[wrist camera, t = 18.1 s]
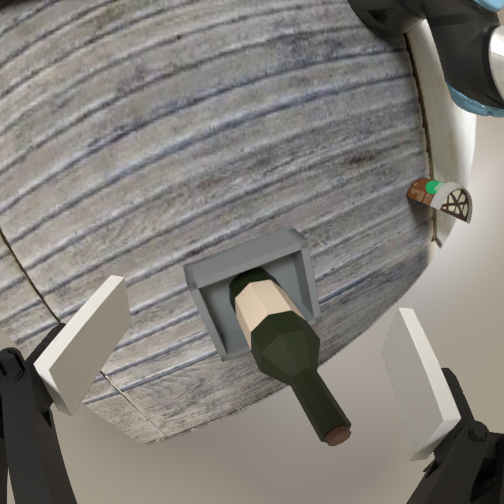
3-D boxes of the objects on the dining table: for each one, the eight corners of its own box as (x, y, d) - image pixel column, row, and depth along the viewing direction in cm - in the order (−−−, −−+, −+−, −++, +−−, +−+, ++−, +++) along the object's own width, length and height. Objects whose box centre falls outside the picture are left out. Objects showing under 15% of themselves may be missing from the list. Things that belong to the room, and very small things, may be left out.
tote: (291, 225, 50) (307, 239, 45) (307, 303, 58) (321, 321, 52) (183, 265, 48) (187, 284, 43) (215, 339, 55) (222, 361, 50)
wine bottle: (283, 272, 52) (391, 407, 26) (265, 314, 55) (348, 455, 28) (237, 261, 49) (328, 415, 23) (220, 306, 51) (285, 466, 25)
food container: (445, 182, 57) (480, 195, 48) (436, 208, 59) (470, 224, 50) (410, 163, 52) (448, 175, 44) (400, 193, 54) (437, 209, 46)
